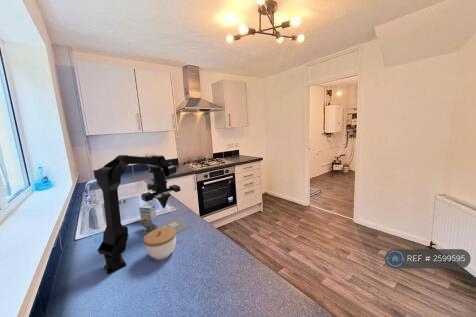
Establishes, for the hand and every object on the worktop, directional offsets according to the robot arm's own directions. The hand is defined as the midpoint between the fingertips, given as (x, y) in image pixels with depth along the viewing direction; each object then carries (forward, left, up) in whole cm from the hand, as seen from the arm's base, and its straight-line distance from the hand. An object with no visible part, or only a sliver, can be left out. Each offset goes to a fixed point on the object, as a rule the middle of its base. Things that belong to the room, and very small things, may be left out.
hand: (163, 207), depth 102 cm
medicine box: (+19, +2, -12) cm, 23 cm away
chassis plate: (-1, 0, -12) cm, 12 cm away
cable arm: (+4, +7, -10) cm, 13 cm away
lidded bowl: (-19, +11, -12) cm, 25 cm away
